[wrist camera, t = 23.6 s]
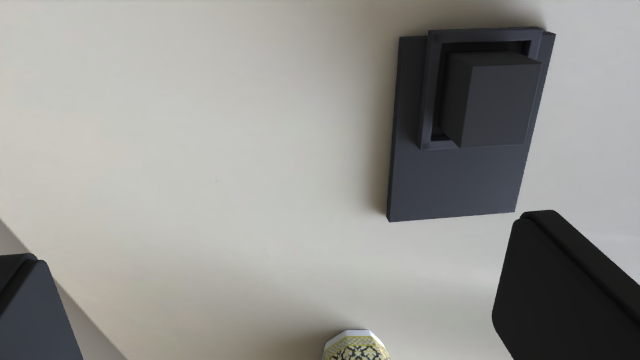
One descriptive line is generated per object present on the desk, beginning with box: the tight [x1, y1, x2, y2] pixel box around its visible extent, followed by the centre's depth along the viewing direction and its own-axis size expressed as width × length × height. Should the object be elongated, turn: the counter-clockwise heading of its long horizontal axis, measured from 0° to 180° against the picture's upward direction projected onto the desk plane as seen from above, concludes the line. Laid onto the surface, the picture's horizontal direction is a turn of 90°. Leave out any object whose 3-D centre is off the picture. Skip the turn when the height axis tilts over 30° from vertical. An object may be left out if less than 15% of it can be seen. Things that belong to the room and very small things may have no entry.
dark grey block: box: [438, 49, 542, 149], centre depth 33 cm, size 6×5×4 cm
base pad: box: [386, 27, 556, 222], centre depth 37 cm, size 17×12×2 cm
